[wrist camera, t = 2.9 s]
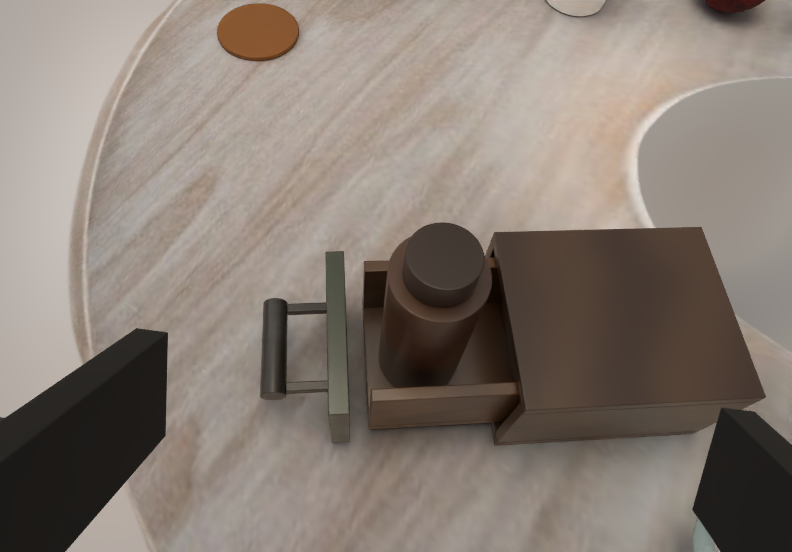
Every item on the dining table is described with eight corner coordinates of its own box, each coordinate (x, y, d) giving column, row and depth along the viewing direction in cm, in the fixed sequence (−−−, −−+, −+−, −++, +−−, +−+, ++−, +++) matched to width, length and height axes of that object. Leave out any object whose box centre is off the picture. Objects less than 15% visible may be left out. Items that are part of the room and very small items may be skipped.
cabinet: (494, 445, 41) (526, 410, 34) (471, 291, 47) (494, 231, 40) (693, 433, 43) (766, 397, 35) (647, 285, 48) (701, 226, 41)
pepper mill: (380, 397, 40) (393, 307, 28) (376, 322, 43) (385, 210, 31) (462, 393, 41) (508, 303, 29) (452, 319, 44) (491, 208, 31)
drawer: (266, 447, 39) (251, 419, 34) (271, 299, 45) (258, 253, 39) (528, 432, 41) (558, 403, 35) (503, 291, 46) (525, 245, 40)
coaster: (215, 60, 58) (214, 57, 57) (220, 6, 61) (220, 2, 61) (298, 60, 58) (298, 57, 58) (299, 7, 62) (298, 3, 62)
